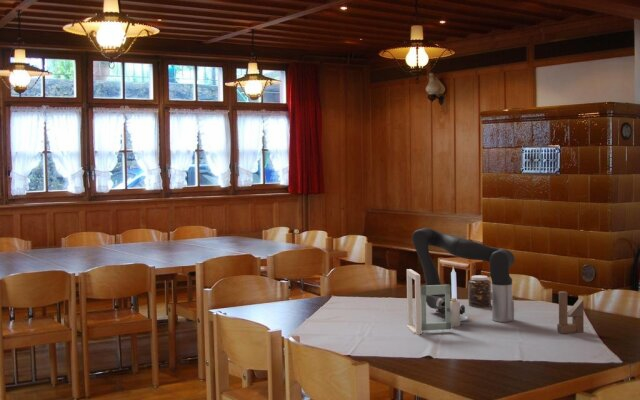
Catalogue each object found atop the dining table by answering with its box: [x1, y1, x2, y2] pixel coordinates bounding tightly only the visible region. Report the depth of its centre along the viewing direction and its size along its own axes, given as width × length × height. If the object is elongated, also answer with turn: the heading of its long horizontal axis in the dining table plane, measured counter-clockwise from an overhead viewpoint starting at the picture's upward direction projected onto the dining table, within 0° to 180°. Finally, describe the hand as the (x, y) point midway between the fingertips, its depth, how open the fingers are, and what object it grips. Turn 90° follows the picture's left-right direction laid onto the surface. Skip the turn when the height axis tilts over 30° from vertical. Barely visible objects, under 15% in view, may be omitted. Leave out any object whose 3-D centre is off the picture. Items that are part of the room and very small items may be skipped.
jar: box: [467, 274, 492, 308], centre depth 405 cm, size 12×12×15 cm
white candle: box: [450, 297, 461, 328], centre depth 359 cm, size 5×5×13 cm
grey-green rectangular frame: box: [420, 284, 451, 332], centre depth 346 cm, size 13×3×20 cm, turn 96°
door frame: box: [406, 268, 423, 336], centre depth 352 cm, size 4×18×26 cm, turn 6°
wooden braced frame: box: [556, 290, 585, 335], centre depth 340 cm, size 4×11×18 cm, turn 102°
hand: (455, 312), depth 357 cm, fingers closed on white candle, 5 cm apart
